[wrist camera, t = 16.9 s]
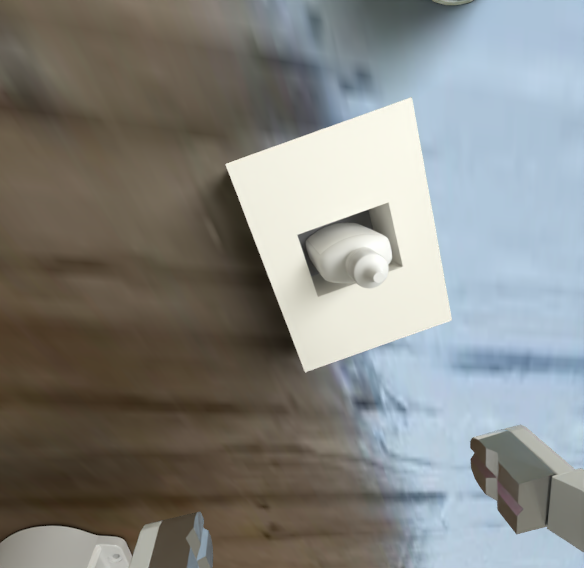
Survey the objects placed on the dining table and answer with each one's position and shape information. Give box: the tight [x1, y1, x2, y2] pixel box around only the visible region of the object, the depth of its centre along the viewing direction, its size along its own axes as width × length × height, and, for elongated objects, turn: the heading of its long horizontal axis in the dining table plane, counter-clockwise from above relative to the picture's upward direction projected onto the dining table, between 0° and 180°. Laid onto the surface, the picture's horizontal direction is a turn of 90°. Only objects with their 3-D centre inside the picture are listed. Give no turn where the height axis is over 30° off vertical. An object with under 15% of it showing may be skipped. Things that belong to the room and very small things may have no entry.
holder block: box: [226, 97, 452, 372], centre depth 28 cm, size 18×14×6 cm
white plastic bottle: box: [306, 222, 392, 289], centre depth 25 cm, size 4×6×12 cm
